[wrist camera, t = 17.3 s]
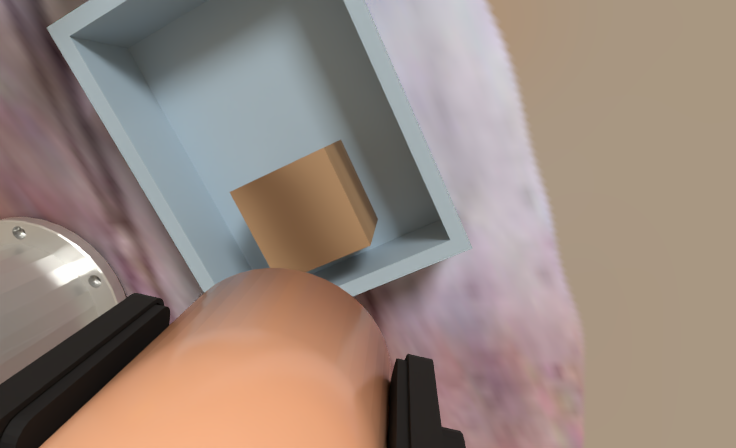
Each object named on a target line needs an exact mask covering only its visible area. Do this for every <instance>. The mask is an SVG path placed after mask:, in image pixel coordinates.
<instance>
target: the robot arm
mask: <svg viewBox="0 0 736 448" xmlns="http://www.w3.org/2000/svg"><path fill="white" fill-rule="evenodd" d="M169 320H170V309H169V308H168V307H166V306H164V302H163V300H162V299H161V298H156V297H152V296H147V295H143V294H139V293H134V294H132V295H130V296H128V297H127V298H126V297H125V293H124V291H123V288H122V286H121V284H120V282H119V280H118V278H117V276H116V274H115V273H114V272H113V270H112V269H111V267H110V266H109V264H108V263H107V261H106V260H105V259H104V258H103V257H102V256H101V255H100V254H99V253H98V252H97V251H96V250H95V249H94V248H93V246H91V245H90V244H89V243H87V242H86V241H85V240H83V239H82V238H81V237H79V236H78V235H77V234H75V233H73V232H71V231H69V230H68V229H66V228H64V227H62V226H60V225H57V224H54V223H51V222H49V221H46V220H43V219H36V218H30V217H8V218H5V219H0V448H39V447H40V446H41V445H42V444H43V443H44V442H45V441H46V440H47V439H48V438H50V437H51V436H52V435H53V434H54V433H55V432H56V431H57V430H58V429H59V428H60V427H61V426H62V425H63V424H64V423H66V422H67V421H68V420H69V419H70V418H71V417H72V416H73V415H74V414H75V413H76V412H77V411H78V410H79V409H81V408H82V407H83V406H84V405H85V404H86V403H87V402H88V401H89V400H90V399H91V398H92V397H93V396H94V395H96V394H97V393H98V392H99V391H100V390H101V389H102V388H103V387H104V386H105V385H106V384H107V383H108V382H109V381H110V380H112V379H113V378H114V377H115V376H116V375H117V374H118V373H119V372H120V371H121V370H122V369H123V368H124V367H125V366H127V365H128V364H129V363H130V362H131V361H132V360H133V359H134V358H135V357H136V356H137V355H138V354H139V353H140V352H141V351H143V350H144V349H145V348H146V347H147V346H148V345H149V344H150V343H151V342H152V341H153V340H154V339H155V338H156V337H158V336H159V335H160V334H161V333H162V332H163V331H164V330H165V329H166V328H167V327H168V326H169ZM388 448H466V446H465V441H464V437H463V434H462V433H461V432H460V431H458V430H453V429H449V428H444V427H441V419H440V411H439V404H438V396H437V388H436V380H435V372H434V365H433V360H432V359H428V358H424V357H419V356H415V355H410V354H407V356H406V358H405V360H402V359H396V362H395V365H394V369H393V373H392V377H391V381H390V399H389V424H388Z"/></svg>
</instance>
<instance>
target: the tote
mask: <svg viewBox="0 0 736 448" xmlns="http://www.w3.org/2000/svg"><path fill="white" fill-rule="evenodd" d="M47 30H48V31H49V33H50V35H51V36H52V38H53V40H54V41H55V43H56V45H57V46H58V48H59V50H60V51H61V53H62V55H63V56H64V58H65V60H66V61H67V63H68V65H69V67H70V68H71V70H72V72H73V73H74V75H75V77H76V78H77V80H78V82H79V83H80V85H81V87H82V88H83V90H84V92H85V93H86V95H87V97H88V98H89V100H90V102H91V104H92V105H93V107H94V109H95V110H96V112H97V114H98V115H99V117H100V119H101V120H102V122H103V124H104V125H105V127H106V129H107V130H108V132H109V134H110V135H111V137H112V139H113V141H114V142H115V144H116V146H117V147H118V149H119V151H120V152H121V154H122V156H123V157H124V159H125V161H126V162H127V164H128V166H129V167H130V169H131V171H132V172H133V174H134V176H135V178H136V179H137V181H138V183H139V184H140V186H141V188H142V189H143V191H144V193H145V194H146V196H147V198H148V199H149V201H150V203H151V204H152V206H153V208H154V209H155V211H156V213H157V214H158V216H159V218H160V220H161V221H162V223H163V225H164V226H165V228H166V230H167V231H168V233H169V235H170V236H171V238H172V240H173V241H174V243H175V245H176V246H177V248H178V250H179V251H180V253H181V255H182V257H183V258H184V260H185V262H186V263H187V265H188V267H189V268H190V270H191V272H192V273H193V275H194V277H195V278H196V280H197V282H198V283H199V285H200V287H201V288H202V290H203V292H204V293H205V292H206V291H207V290H209V289H210V288H211V287H212V286H214V285H215V284H217V283H219V282H220V281H222V280H224V279H226V278H228V277H230V276H233V275H235V274H238V273H241V272H245V271H249V270H254V269H263V268H270V267H269V265H268V263H267V261H266V259H265V257H264V255H263V254H262V252H261V250H260V248H259V246H258V244H257V242H256V241H255V239H254V237H253V235H252V233H251V231H250V229H249V228H248V226H247V224H246V222H245V220H244V218H243V216H242V215H241V213H240V211H239V209H238V207H237V205H236V203H235V202H234V200H233V198H232V196H231V194H230V192H231V191H233V190H235V189H237V188H239V187H241V186H243V185H245V184H248V183H250V182H252V181H254V180H256V179H258V178H260V177H262V176H264V175H267V174H269V173H271V172H273V171H275V170H277V169H279V168H281V167H283V166H286V165H288V164H290V163H292V162H294V161H296V160H298V159H300V158H303V157H305V156H307V155H309V154H311V153H313V152H315V151H317V150H319V149H322V148H324V147H326V146H328V145H330V144H332V143H334V142H336V141H339V140H341V141H342V143H343V145H344V147H345V149H346V151H347V153H348V156H349V158H350V160H351V162H352V164H353V166H354V168H355V171H356V173H357V175H358V177H359V179H360V181H361V183H362V186H363V188H364V190H365V192H366V194H367V196H368V198H369V201H370V203H371V205H372V207H373V209H374V211H375V213H376V216H377V218H378V221H377V224H376V228H375V231H374V235H373V238H372V242H371V246H368V247H366V248H363V249H361V250H359V251H356V252H354V253H351V254H349V255H347V256H344V257H342V258H339V259H337V260H334V261H332V262H330V263H327V264H325V265H322V266H320V267H317V268H315V269H313V270H310V271H308V272H306V273H310V274H313V275H315V276H318V277H320V278H323V279H325V280H327V281H329V282H331V283H333V284H335V285H337V286H338V287H340V288H341V289H343V290H344V291H346V292H347V293H348V294H350V295H351V296H352V297H353V296H355V295H358V294H360V293H363V292H365V291H368V290H370V289H373V288H375V287H378V286H380V285H383V284H385V283H388V282H390V281H393V280H395V279H398V278H400V277H403V276H405V275H408V274H410V273H412V272H415V271H417V270H420V269H422V268H425V267H427V266H430V265H432V264H435V263H437V262H440V261H442V260H445V259H447V258H450V257H452V256H455V255H457V254H460V253H462V252H465V251H467V250H470V249H472V246H471V244H470V242H469V239H468V237H467V235H466V232H465V230H464V228H463V225H462V223H461V221H460V219H459V216H458V214H457V212H456V209H455V207H454V205H453V203H452V200H451V198H450V196H449V193H448V191H447V189H446V186H445V184H444V182H443V180H442V177H441V175H440V173H439V170H438V168H437V166H436V164H435V161H434V159H433V157H432V154H431V152H430V150H429V147H428V145H427V143H426V141H425V138H424V136H423V134H422V131H421V129H420V127H419V124H418V122H417V120H416V118H415V115H414V113H413V111H412V108H411V106H410V104H409V102H408V99H407V97H406V95H405V92H404V90H403V88H402V85H401V83H400V81H399V79H398V76H397V74H396V72H395V69H394V67H393V65H392V63H391V60H390V58H389V56H388V53H387V51H386V49H385V46H384V44H383V42H382V40H381V37H380V35H379V33H378V30H377V28H376V26H375V24H374V21H373V19H372V17H371V14H370V12H369V10H368V7H367V5H366V3H365V1H364V0H89V1H87V2H85V3H84V4H82V5H81V6H79V7H78V8H76V9H75V10H73V11H71V12H70V13H68V14H67V15H65V16H64V17H62V18H61V19H59V20H57V21H56V22H54V23H53V24H51V25H50V26H48V27H47Z"/></svg>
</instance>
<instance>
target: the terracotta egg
mask: <svg viewBox="0 0 736 448" xmlns="http://www.w3.org/2000/svg"><path fill="white" fill-rule="evenodd" d="M390 381H391V364H390V358H389V352H388V349H387V346H386V342H385V340H384V338H383V336H382V333H381V331H380V329H379V327H378V326H377V324H376V323H375V321H374V320H373V318H372V317H371V315H370V314H369V313H368V312H367V311H366V309H365V308H364V307H363V306H362V305H361V304H360V303H359V302H358V301H357V300H356V299H355V298H353V297H352V296H351V295H350V294H348V293H347V292H346V291H344V290H343V289H341V288H340V287H338V286H337V285H335V284H333V283H331V282H329V281H327V280H325V279H323V278H320V277H318V276H315V275H313V274H310V273H306V272H302V271H298V270H292V269H285V268H263V269H254V270H249V271H245V272H241V273H238V274H235V275H233V276H230V277H228V278H226V279H224V280H222V281H220V282H219V283H217V284H215V285H214V286H212V287H211V288H210V289H209V290H207V291H206V292H205V293H203V294H202V295H201V296H200V297H199V298H198V299H197V300H196V301H195V302H194V303H193V304H192V305H191V306H190V307H189V308H187V309H186V310H185V311H184V312H183V313H182V314H181V315H180V316H179V317H178V318H177V319H176V320H175V321H174V322H172V323H171V324H170V325H169V326H168V327H167V328H166V329H165V330H164V331H163V332H162V333H161V334H160V335H159V336H158V337H156V338H155V339H154V340H153V341H152V342H151V343H150V344H149V345H148V346H147V347H146V348H145V349H144V350H143V351H141V352H140V353H139V354H138V355H137V356H136V357H135V358H134V359H133V360H132V361H131V362H130V363H129V364H128V365H127V366H125V367H124V368H123V369H122V370H121V371H120V372H119V373H118V374H117V375H116V376H115V377H114V378H113V379H112V380H110V381H109V382H108V383H107V384H106V385H105V386H104V387H103V388H102V389H101V390H100V391H99V392H98V393H97V394H96V395H94V396H93V397H92V398H91V399H90V400H89V401H88V402H87V403H86V404H85V405H84V406H83V407H82V408H81V409H79V410H78V411H77V412H76V413H75V414H74V415H73V416H72V417H71V418H70V419H69V420H68V421H67V422H66V423H64V424H63V425H62V426H61V427H60V428H59V429H58V430H57V431H56V432H55V433H54V434H53V435H52V436H51V437H50V438H48V439H47V440H46V441H45V442H44V443H43V444H42V445H41V446H40V447H39V448H388V424H389V399H390Z"/></svg>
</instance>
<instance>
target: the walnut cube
mask: <svg viewBox="0 0 736 448" xmlns="http://www.w3.org/2000/svg"><path fill="white" fill-rule="evenodd" d="M230 194H231V196H232V198H233V200H234V202H235V203H236V205H237V207H238V209H239V211H240V213H241V215H242V216H243V218H244V220H245V222H246V224H247V226H248V228H249V229H250V231H251V233H252V235H253V237H254V239H255V241H256V242H257V244H258V246H259V248H260V250H261V252H262V254H263V255H264V257H265V259H266V261H267V263H268V265H269V267H270V268H285V269H292V270H298V271H302V272H308V271H310V270H313V269H315V268H317V267H320V266H322V265H325V264H327V263H330V262H332V261H334V260H337V259H339V258H342V257H344V256H347V255H349V254H351V253H354V252H356V251H359V250H361V249H363V248H366V247H368V246H371V242H372V238H373V235H374V231H375V228H376V224H377V221H378V218H377V216H376V213H375V211H374V209H373V207H372V205H371V203H370V201H369V198H368V196H367V194H366V192H365V190H364V188H363V186H362V183H361V181H360V179H359V177H358V175H357V173H356V171H355V168H354V166H353V164H352V162H351V160H350V158H349V156H348V153H347V151H346V149H345V147H344V145H343V143H342V141H341V140H339V141H336V142H334V143H332V144H330V145H328V146H326V147H324V148H322V149H319V150H317V151H315V152H313V153H311V154H309V155H307V156H305V157H303V158H300V159H298V160H296V161H294V162H292V163H290V164H288V165H286V166H283V167H281V168H279V169H277V170H275V171H273V172H271V173H269V174H267V175H264V176H262V177H260V178H258V179H256V180H254V181H252V182H250V183H248V184H245V185H243V186H241V187H239V188H237V189H235V190H233V191H231V192H230Z"/></svg>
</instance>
